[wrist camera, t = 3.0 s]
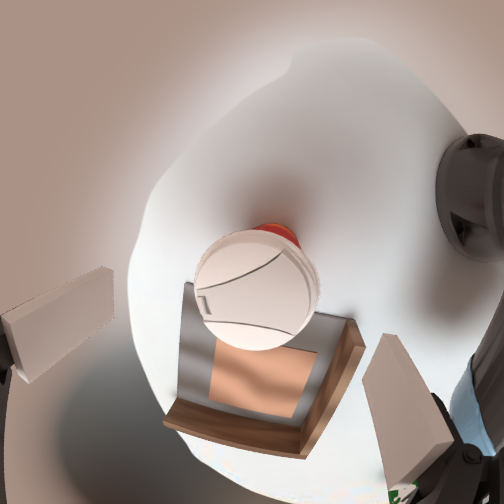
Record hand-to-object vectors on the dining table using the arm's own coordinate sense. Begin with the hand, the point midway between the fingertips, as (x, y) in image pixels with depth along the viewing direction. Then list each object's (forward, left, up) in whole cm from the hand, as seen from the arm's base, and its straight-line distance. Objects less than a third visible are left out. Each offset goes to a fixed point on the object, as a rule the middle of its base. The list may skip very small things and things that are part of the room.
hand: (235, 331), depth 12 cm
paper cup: (0, 0, -18) cm, 18 cm away
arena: (+16, +1, -18) cm, 24 cm away
